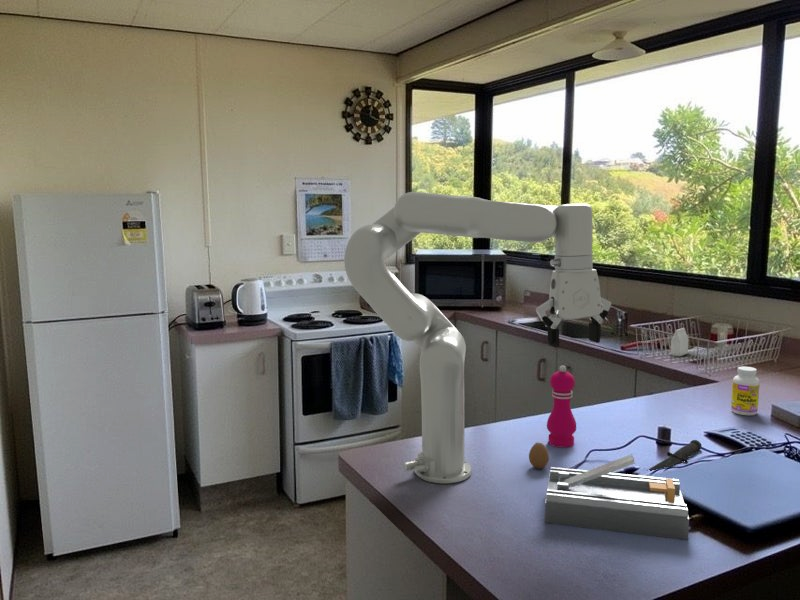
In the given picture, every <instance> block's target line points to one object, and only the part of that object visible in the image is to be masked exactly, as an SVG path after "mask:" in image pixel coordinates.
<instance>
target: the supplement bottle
mask: <svg viewBox="0 0 800 600" xmlns="http://www.w3.org/2000/svg"><path fill="white" fill-rule="evenodd" d="M756 375H757V368H755V367H752V366H745V365H744V366H738V367H737V375H735V376H734V377H733V379H732V389H731V401H730V402H731V403H730V405H731V406H730V410H731V412H732V413H734V414H737V415H741V416H749V417H750V416H755V415H757V413H758V409H759V396H760V385H761V384H760V383H761V381H760V379H759V378H758V377H756Z"/></svg>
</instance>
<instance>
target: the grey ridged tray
mask: <svg viewBox="0 0 800 600" xmlns="http://www.w3.org/2000/svg"><path fill="white" fill-rule="evenodd" d="M586 471H588V469H587V470H585V469H577V468H576V469H575V468H566V467H565V468H564V467H553V466H550V470H549V474H548V482H547V488H546V489H547V490H546V495H545V496H546V497H545V501H544V504H545V505H544V523H545V524H546V523H547V524H551V525H560V526H568V527H576V528H577V527H579V528H587V529H595V530H601V531H611V532H616V533H617V532H619V533H626V534H627V533H628V534H635V535H644V536H649V537H659V538H668V539H675V540H677V539H678V540H685V541H688V540H689V530H690V517H689V509H688V506H687V503H685V501H684V498H683V495H682V491H681V483H680V479H678V478H668V477H667V478H668V479H672V480H673V483H674V486H675V503H672V502H667V499H666V496H665V492H659V491H650V488H649V482H652V483H662V484H665V480H666V477H658V476H648V475H638V474H637V475H636V474H628V473H627V474H626V473H617V472H611V473H608V474H605V475H603V476H600V477H597V478H595V479H592V480H589V481H587V482H584V483H582V484H579V485H576V486H574V487H571V488H568V483H562V482H561V480H562V479H564V480H565V479H568V478H571V477H573V476H576V475H578V474H581V473H584V472H586Z"/></svg>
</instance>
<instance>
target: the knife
mask: <svg viewBox="0 0 800 600" xmlns="http://www.w3.org/2000/svg"><path fill="white" fill-rule="evenodd" d="M702 448H703V447H702V444H701V442H700V441H699V440H697V439H692V440H691V441H690V442H689V443H688V444H686V445H684V446H682V447H681V448H679V449H678V450H676V451H675V452H673V453H672V452H670V451H667V452H666V456H668V457H667V458H665V459H663V460H662V461H660V462H658V463H657V464H655V465H653V466H652V467H650V468H648V469H649V470H650V471H652V470H656V469H660V468H664V467H670V466H672V467H674V466H676V465H677V464H678V463H680V462H681V461H683V462H682V463H685V462H689V461H688V459H689V458H690V457H691V456H692V455H694V454H695V453H696V452H699V451H701V450H702ZM684 461H685V462H684ZM673 465H674V466H673ZM670 468H671V467H670ZM648 469H647V470H646V471H648Z"/></svg>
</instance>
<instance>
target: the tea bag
mask: <svg viewBox="0 0 800 600" xmlns="http://www.w3.org/2000/svg"><path fill="white" fill-rule="evenodd" d="M669 353H670V355H671V356H675V357H682V356H685V355H688V353H689V336H688V334H687V331H686V327H682V328H679V329H675V331H674V334H673V336H672V338H671V339H670V352H669Z"/></svg>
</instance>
